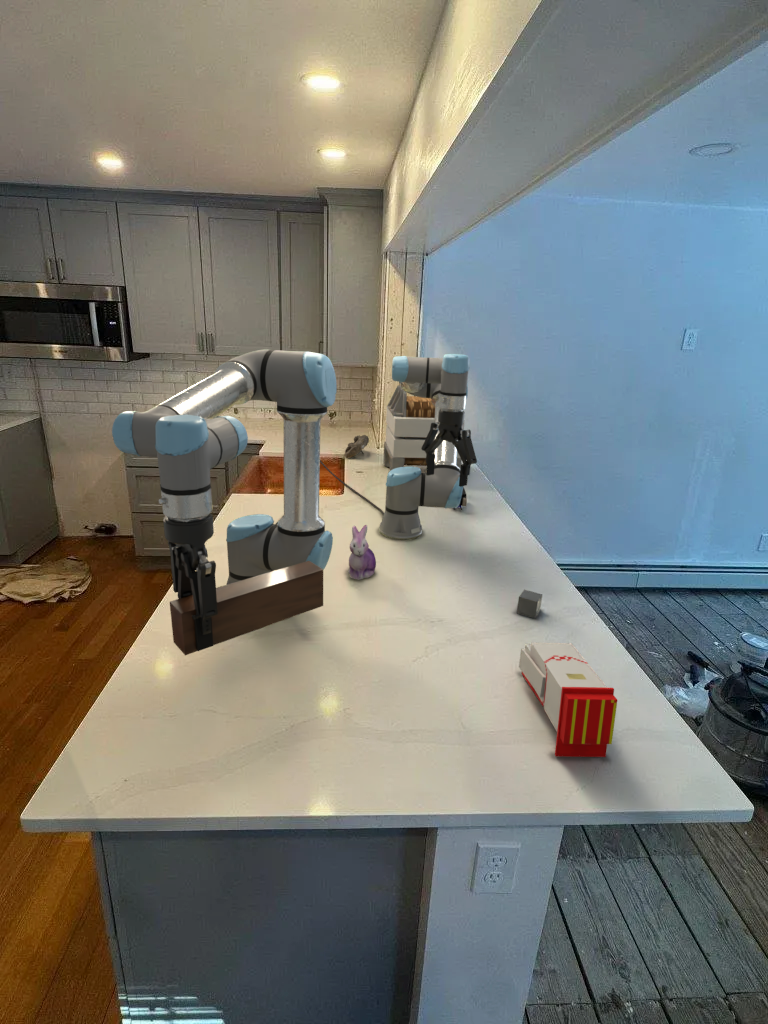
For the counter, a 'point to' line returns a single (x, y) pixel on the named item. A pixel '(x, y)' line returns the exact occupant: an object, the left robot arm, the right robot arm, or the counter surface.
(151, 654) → the counter surface
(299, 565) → the walnut bar
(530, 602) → the slate cube
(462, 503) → the figurine character
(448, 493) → the right robot arm
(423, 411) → the grey wooden crate
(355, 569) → the figurine
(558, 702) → the toy
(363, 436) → the fossil
